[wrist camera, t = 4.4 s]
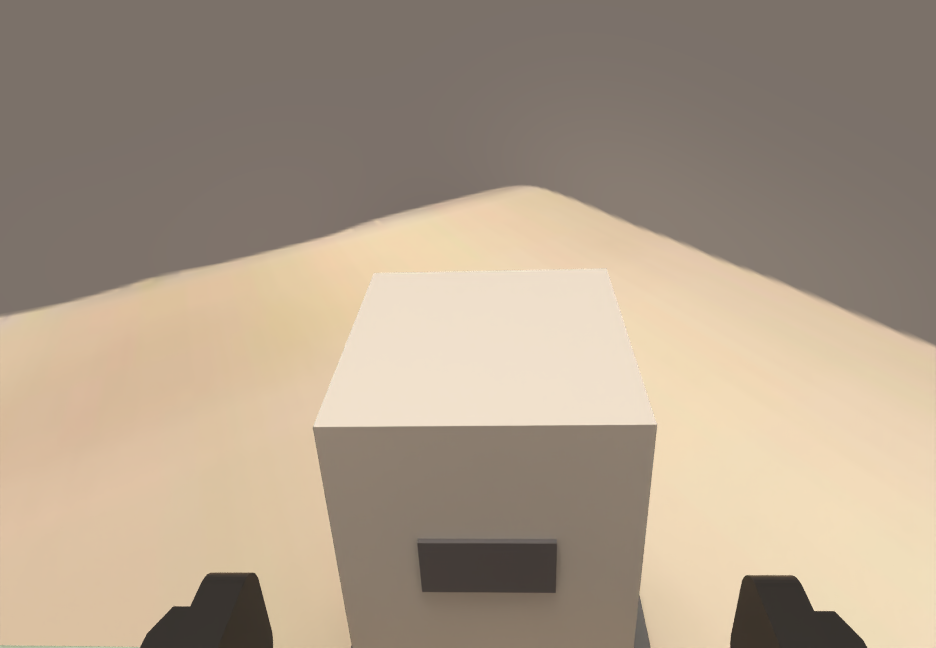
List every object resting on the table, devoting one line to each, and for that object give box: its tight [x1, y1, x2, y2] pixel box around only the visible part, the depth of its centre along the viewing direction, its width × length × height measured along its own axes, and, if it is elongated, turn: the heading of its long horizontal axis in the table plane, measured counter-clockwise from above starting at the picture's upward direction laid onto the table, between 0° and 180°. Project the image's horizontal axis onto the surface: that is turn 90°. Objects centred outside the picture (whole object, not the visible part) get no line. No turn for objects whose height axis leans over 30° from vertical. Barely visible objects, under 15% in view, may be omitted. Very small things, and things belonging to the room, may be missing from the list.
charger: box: [313, 268, 657, 648], centre depth 14 cm, size 5×4×11 cm
